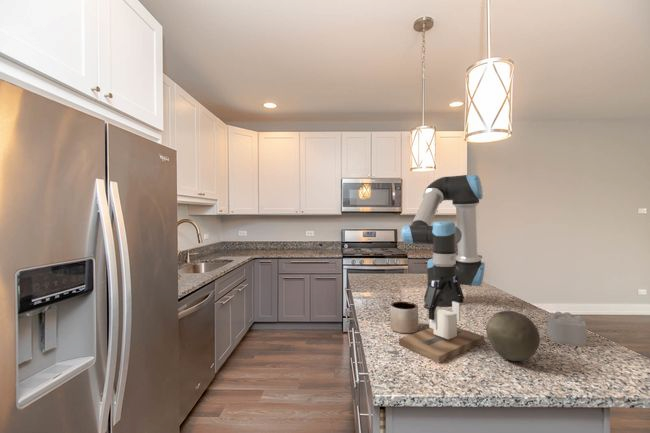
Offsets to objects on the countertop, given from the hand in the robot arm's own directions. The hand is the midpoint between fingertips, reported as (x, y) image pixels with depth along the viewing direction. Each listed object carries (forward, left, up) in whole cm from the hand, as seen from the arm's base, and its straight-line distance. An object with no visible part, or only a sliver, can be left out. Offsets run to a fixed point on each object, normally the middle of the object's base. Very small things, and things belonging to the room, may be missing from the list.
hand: (445, 324), depth 107 cm
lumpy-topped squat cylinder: (-39, +23, -7) cm, 46 cm away
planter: (+2, -17, -7) cm, 18 cm away
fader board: (+2, 0, -6) cm, 7 cm away
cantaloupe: (-5, +20, -7) cm, 22 cm away
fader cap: (0, 0, -4) cm, 4 cm away
